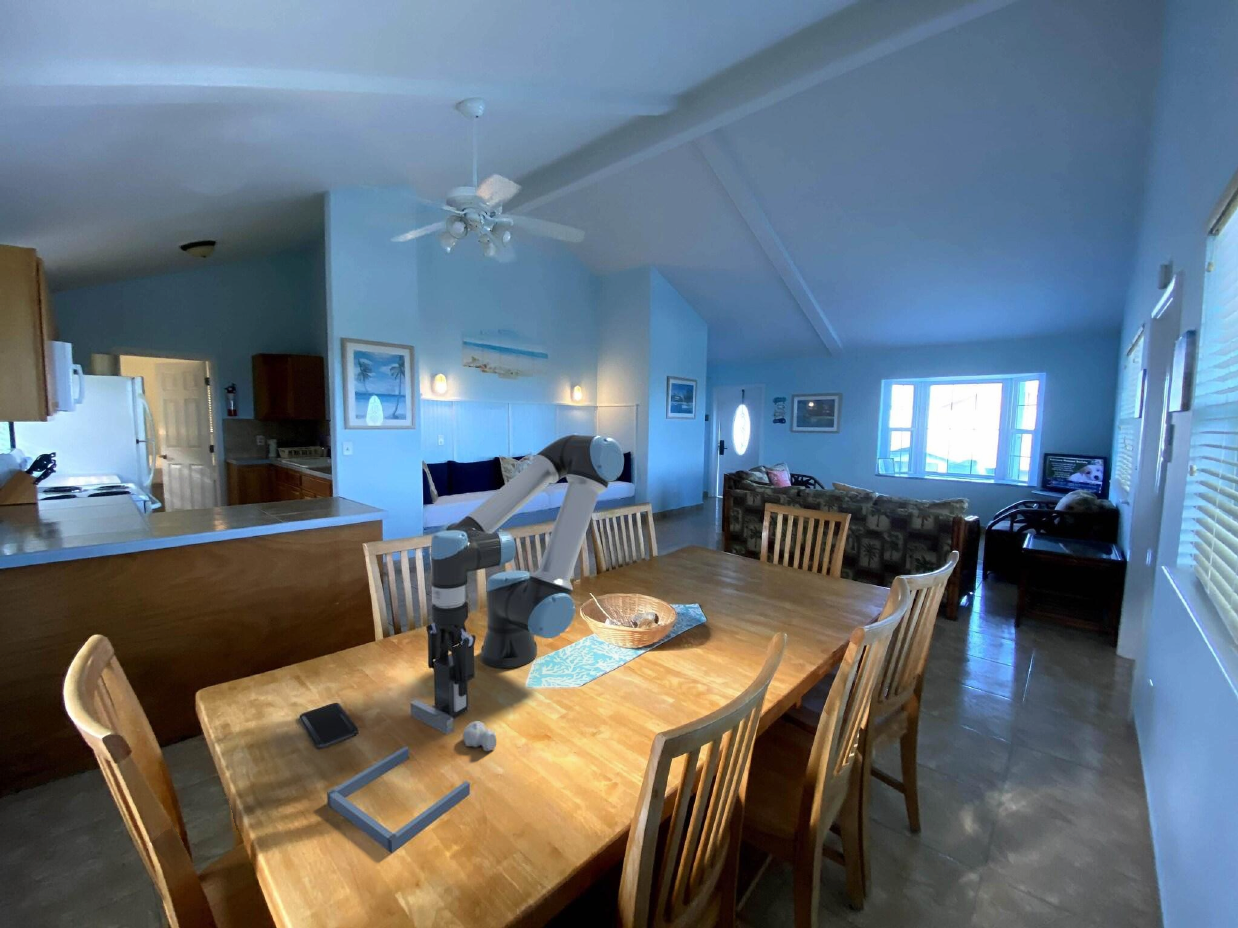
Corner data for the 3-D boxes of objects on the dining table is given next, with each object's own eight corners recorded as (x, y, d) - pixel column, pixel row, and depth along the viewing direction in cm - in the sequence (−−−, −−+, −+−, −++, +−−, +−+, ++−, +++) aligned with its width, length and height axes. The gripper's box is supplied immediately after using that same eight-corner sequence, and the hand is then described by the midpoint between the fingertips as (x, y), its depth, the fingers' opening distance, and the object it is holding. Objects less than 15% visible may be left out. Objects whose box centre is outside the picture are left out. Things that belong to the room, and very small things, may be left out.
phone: (317, 747, 102) (298, 714, 113) (317, 752, 102) (298, 719, 113) (360, 730, 108) (338, 701, 118) (360, 735, 108) (338, 705, 119)
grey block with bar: (442, 698, 122) (442, 648, 120) (478, 715, 115) (478, 662, 114) (410, 715, 114) (409, 663, 113) (447, 734, 108) (446, 678, 107)
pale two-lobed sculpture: (460, 745, 107) (482, 728, 110) (480, 764, 101) (502, 745, 104) (454, 729, 105) (475, 712, 109) (474, 746, 100) (496, 728, 103)
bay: (405, 756, 101) (405, 746, 101) (469, 793, 91) (469, 782, 91) (327, 803, 88) (327, 792, 88) (391, 853, 79) (391, 840, 79)
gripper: (409, 598, 116) (411, 699, 118) (464, 617, 106) (465, 726, 108) (437, 589, 122) (438, 685, 124) (492, 606, 112) (492, 709, 114)
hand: (451, 704), depth 116 cm, fingers closed on grey block with bar, 5 cm apart
